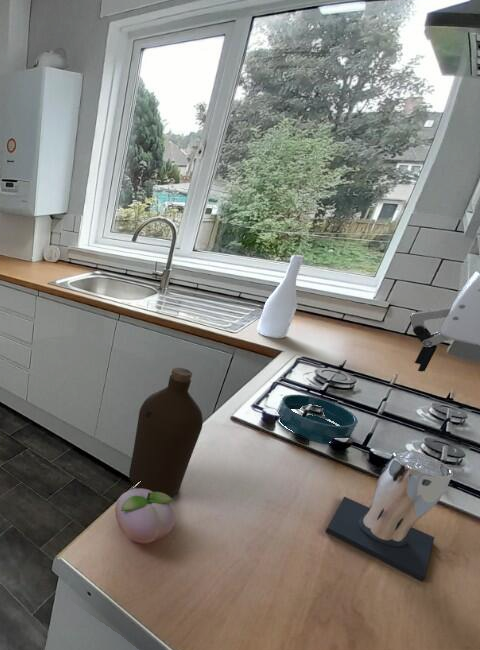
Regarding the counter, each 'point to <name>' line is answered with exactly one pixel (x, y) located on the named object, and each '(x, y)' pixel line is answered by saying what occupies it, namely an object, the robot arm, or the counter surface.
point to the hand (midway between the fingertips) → (466, 380)
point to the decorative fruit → (144, 515)
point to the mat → (403, 558)
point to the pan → (316, 419)
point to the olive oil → (166, 436)
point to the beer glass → (404, 496)
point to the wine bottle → (281, 304)
